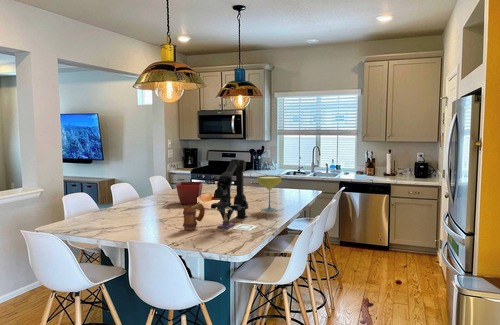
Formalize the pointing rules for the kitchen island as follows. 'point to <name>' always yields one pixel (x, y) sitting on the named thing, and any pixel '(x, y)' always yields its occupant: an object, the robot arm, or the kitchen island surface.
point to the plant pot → (189, 192)
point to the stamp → (226, 219)
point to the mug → (192, 216)
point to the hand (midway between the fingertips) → (226, 220)
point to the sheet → (245, 227)
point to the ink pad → (226, 226)
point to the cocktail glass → (269, 185)
